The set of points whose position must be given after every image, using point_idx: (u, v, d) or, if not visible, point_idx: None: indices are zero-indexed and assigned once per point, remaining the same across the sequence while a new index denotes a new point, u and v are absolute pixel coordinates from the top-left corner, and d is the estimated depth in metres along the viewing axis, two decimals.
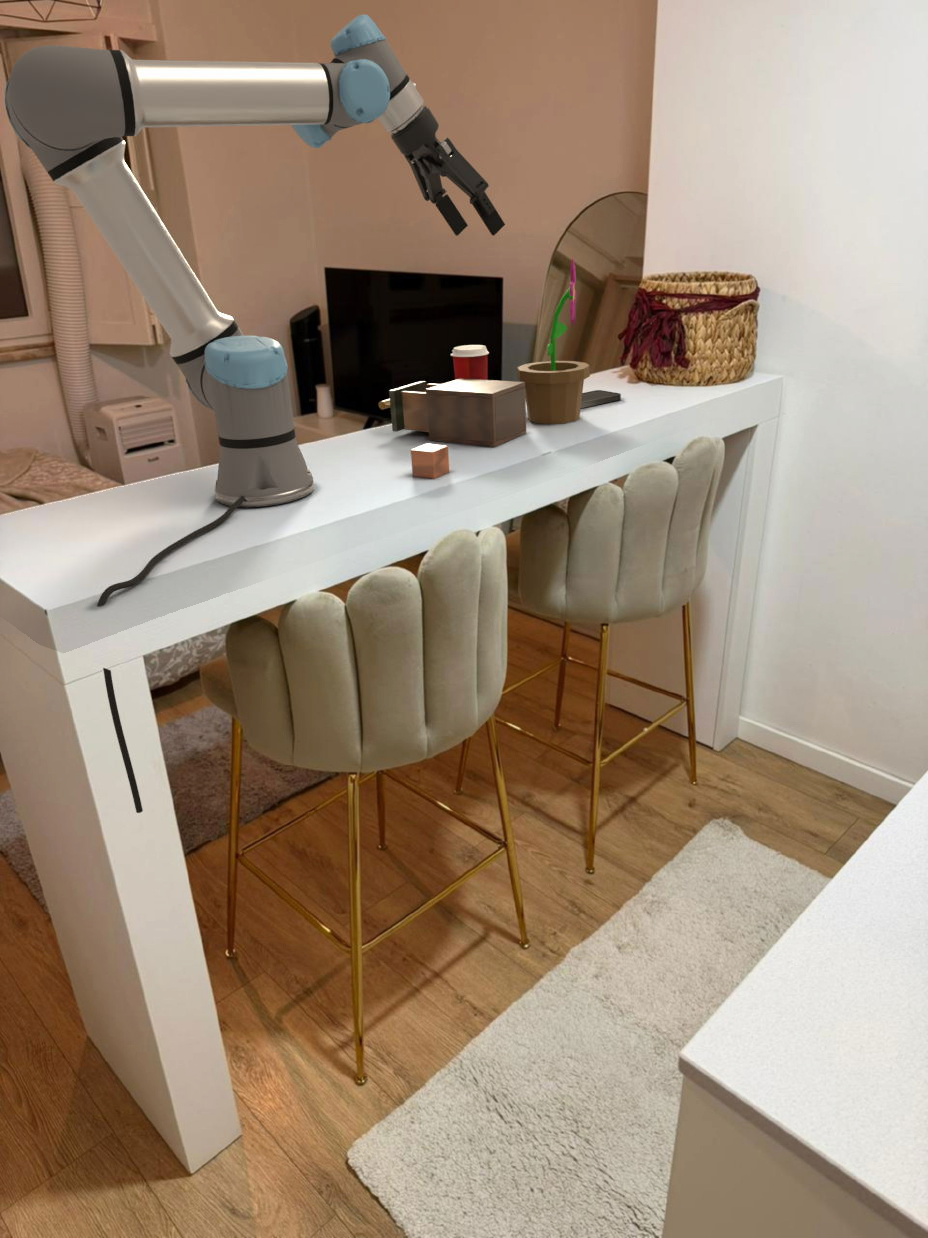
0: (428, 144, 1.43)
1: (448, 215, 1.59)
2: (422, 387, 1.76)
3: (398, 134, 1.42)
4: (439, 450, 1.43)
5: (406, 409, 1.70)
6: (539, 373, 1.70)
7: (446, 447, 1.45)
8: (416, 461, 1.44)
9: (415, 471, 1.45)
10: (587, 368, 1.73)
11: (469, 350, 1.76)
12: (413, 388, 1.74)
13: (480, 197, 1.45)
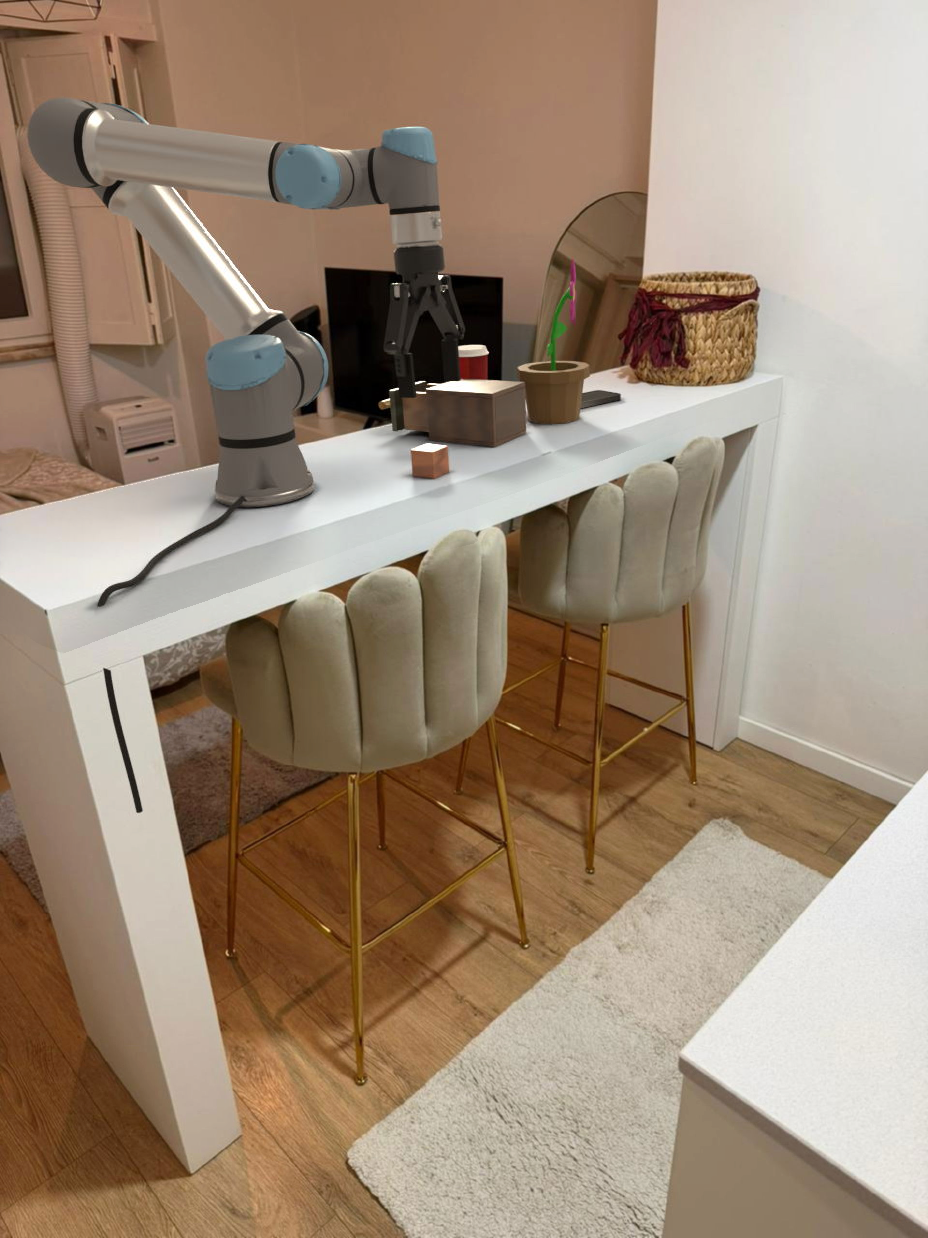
0: None
1: (445, 358, 1.45)
2: (422, 387, 1.76)
3: None
4: (439, 450, 1.43)
5: (406, 409, 1.70)
6: (539, 373, 1.70)
7: (446, 447, 1.45)
8: (416, 461, 1.44)
9: (415, 471, 1.45)
10: (587, 368, 1.73)
11: (469, 350, 1.76)
12: None
13: (395, 355, 1.32)
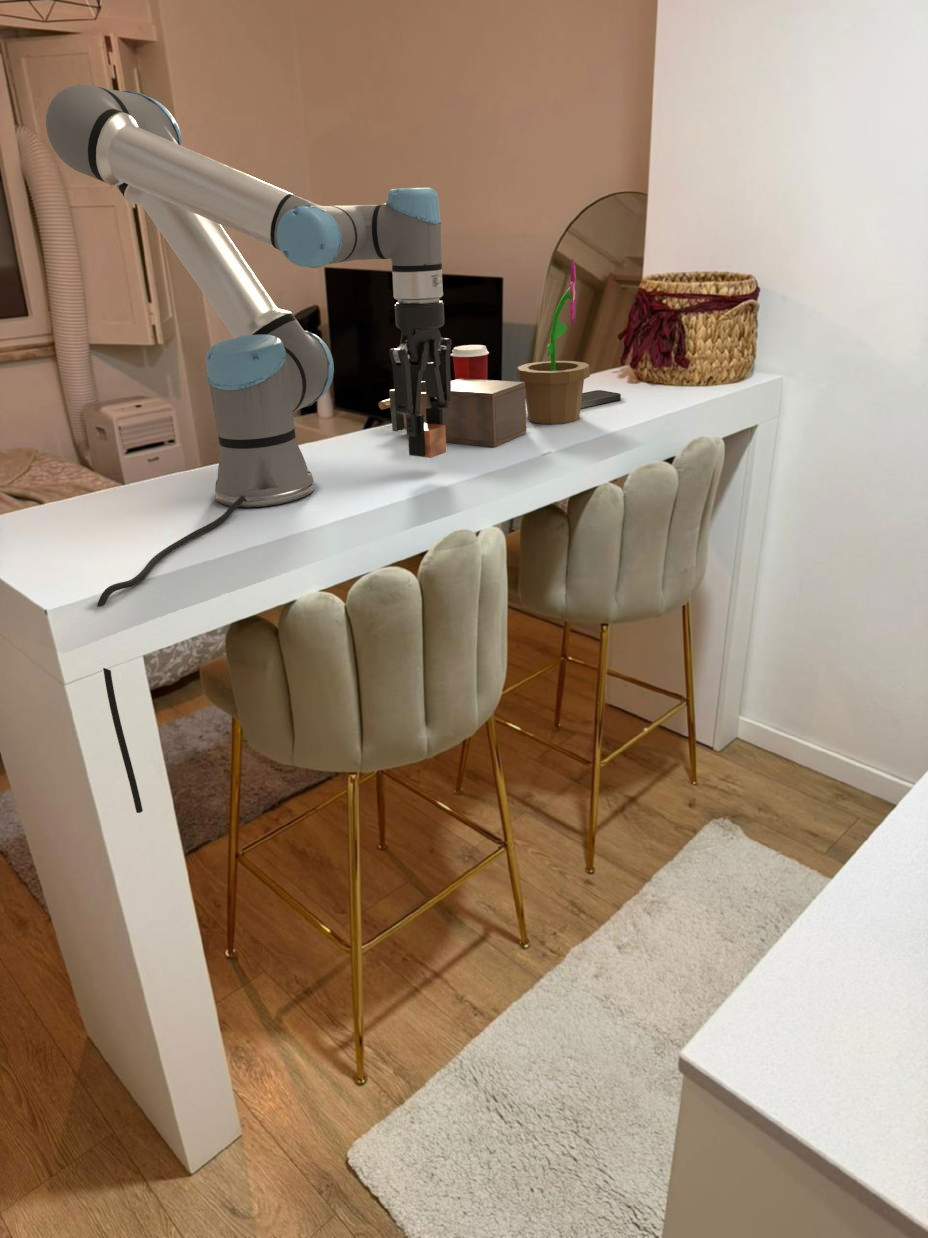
0: None
1: None
2: (422, 387, 1.76)
3: None
4: (436, 429, 1.42)
5: None
6: (539, 373, 1.70)
7: (443, 426, 1.43)
8: None
9: None
10: (587, 368, 1.73)
11: (469, 350, 1.76)
12: None
13: (406, 416, 1.39)
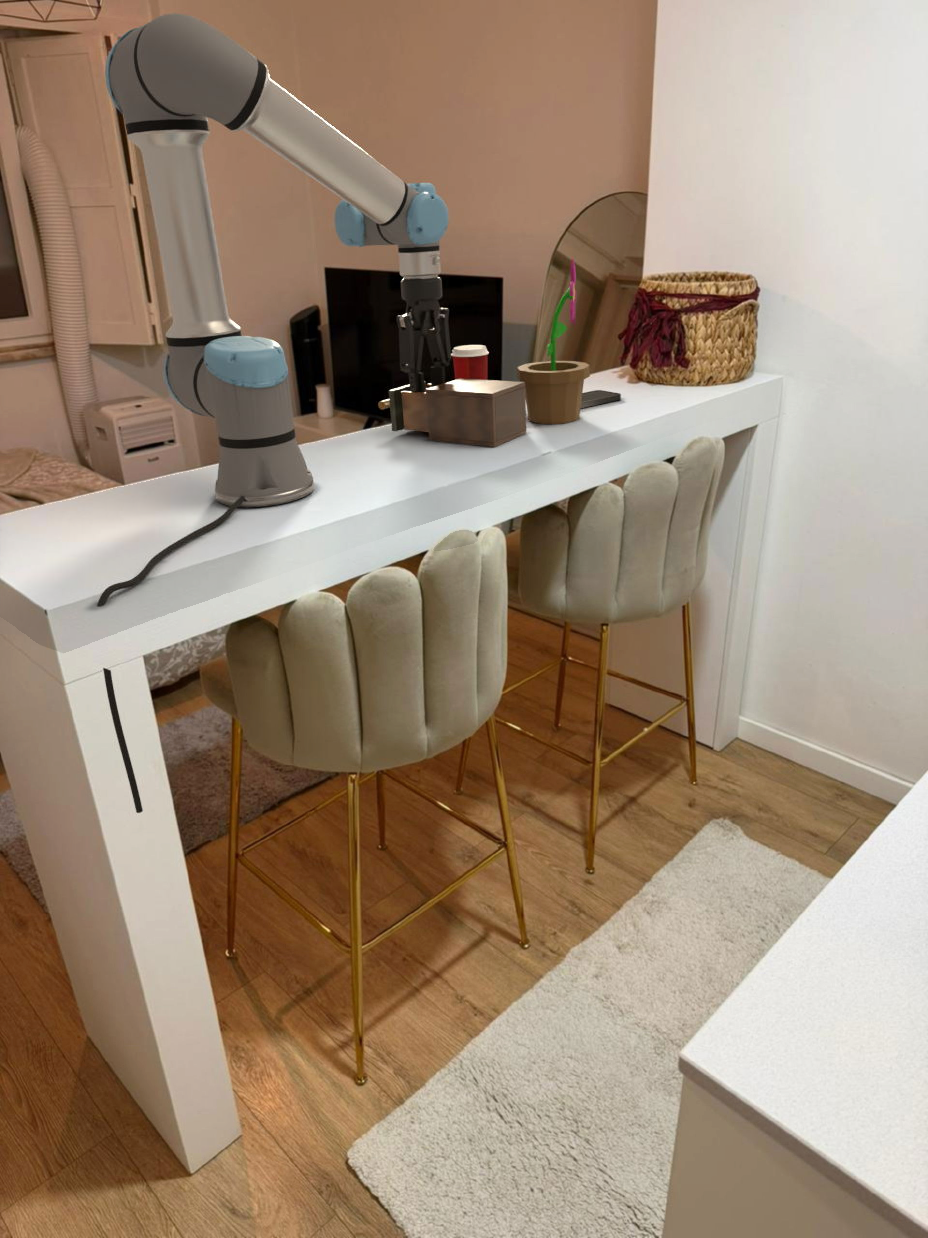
0: None
1: (433, 381, 1.73)
2: None
3: (402, 280, 1.63)
4: None
5: (406, 409, 1.70)
6: (539, 373, 1.70)
7: None
8: None
9: None
10: (587, 368, 1.73)
11: (469, 350, 1.76)
12: None
13: (409, 373, 1.66)
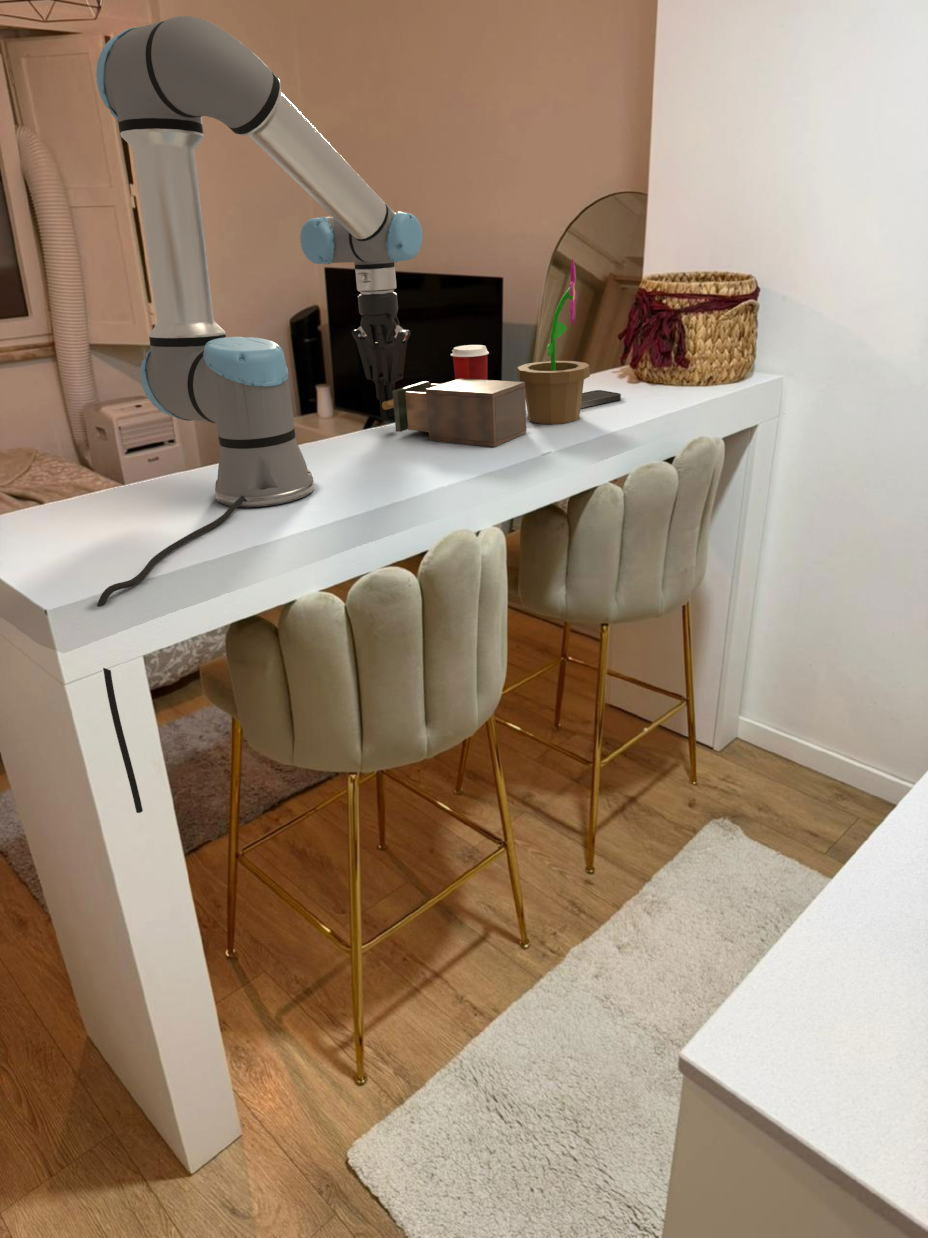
0: None
1: None
2: (426, 387, 1.76)
3: None
4: None
5: (410, 410, 1.69)
6: (539, 373, 1.70)
7: None
8: None
9: None
10: (587, 368, 1.73)
11: (469, 350, 1.76)
12: (416, 388, 1.73)
13: None
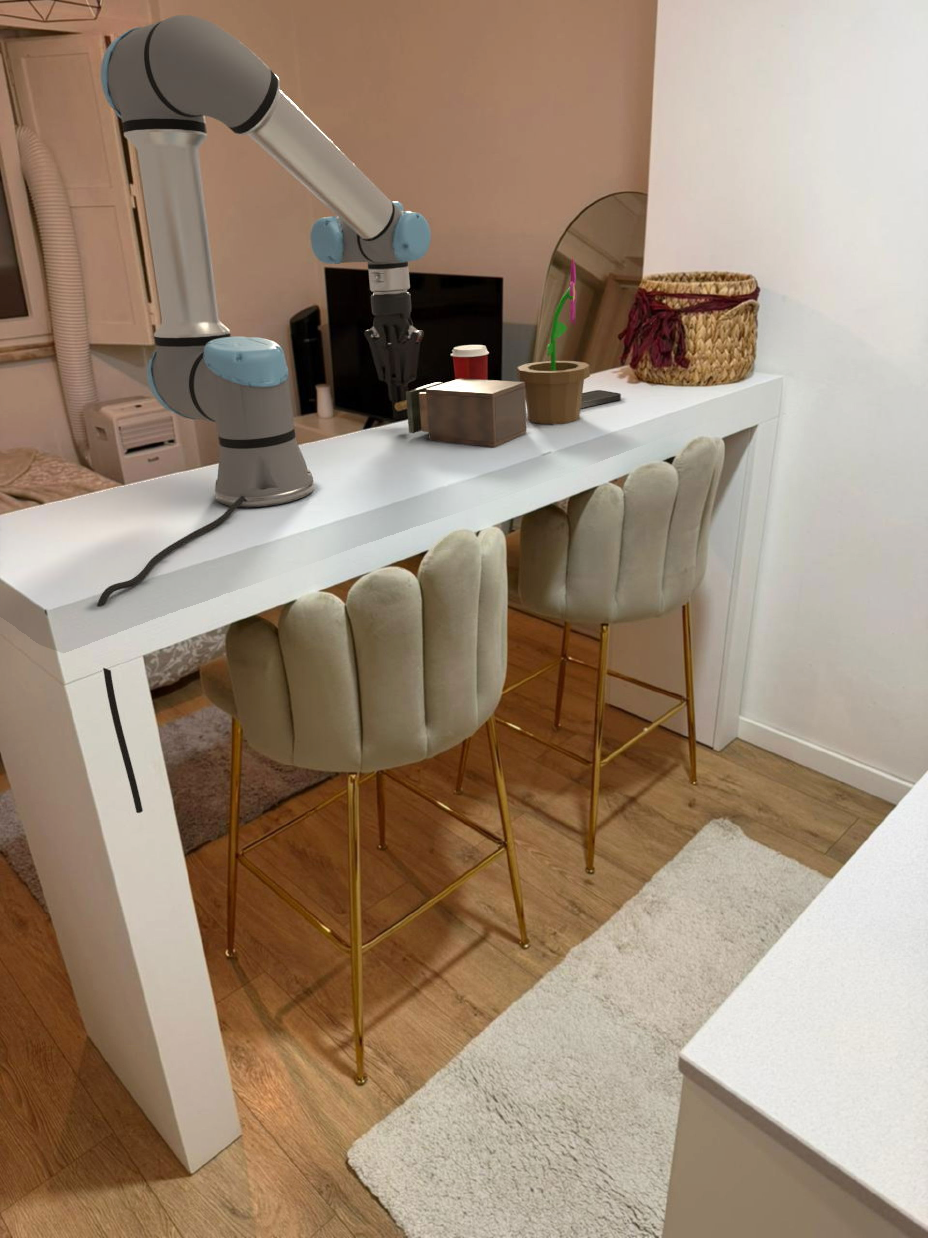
0: None
1: None
2: None
3: None
4: None
5: (423, 411, 1.68)
6: (539, 373, 1.70)
7: None
8: None
9: None
10: (587, 368, 1.73)
11: (469, 350, 1.76)
12: None
13: None
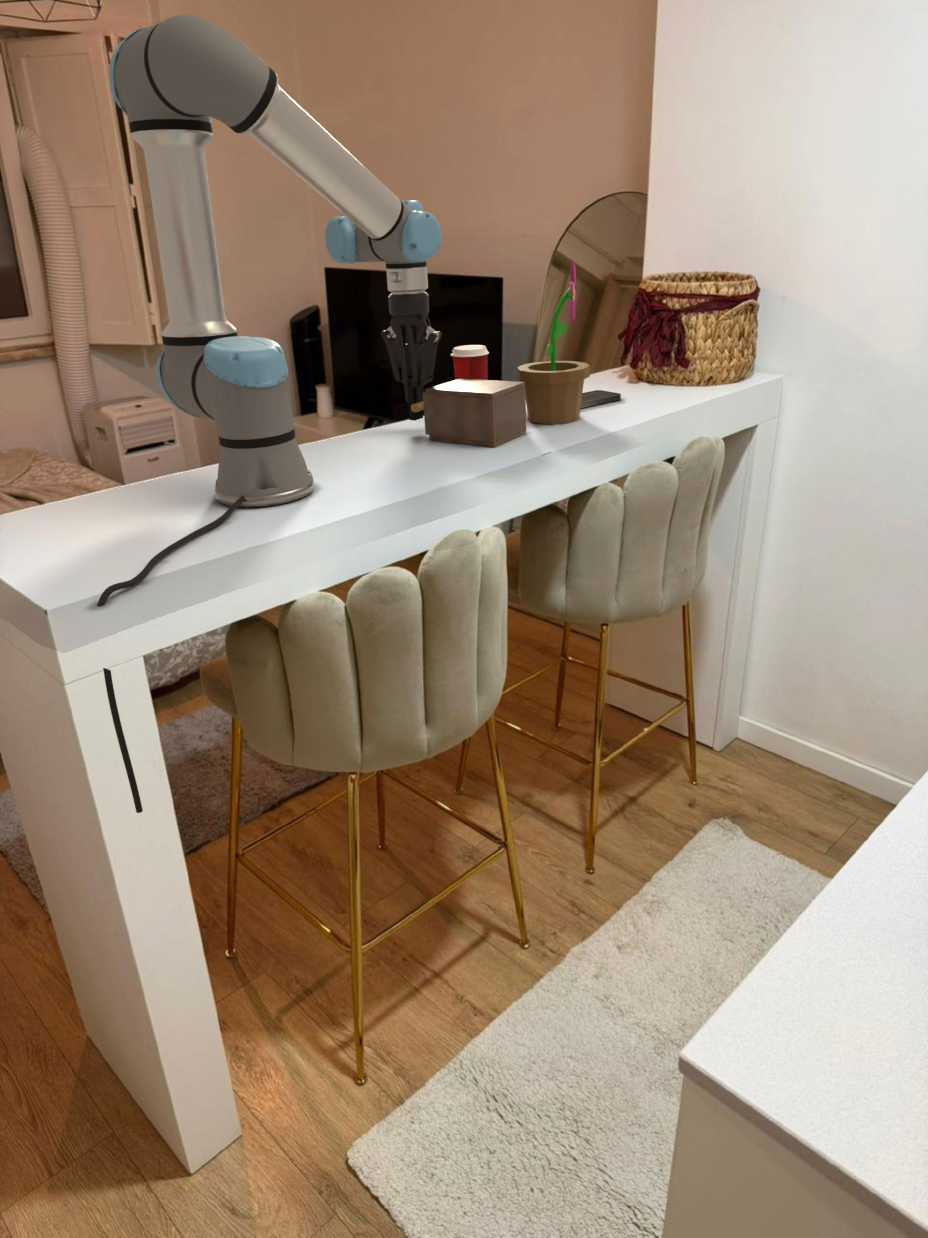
0: None
1: None
2: None
3: None
4: None
5: None
6: (539, 373, 1.70)
7: None
8: None
9: None
10: (587, 368, 1.73)
11: (469, 350, 1.76)
12: None
13: None
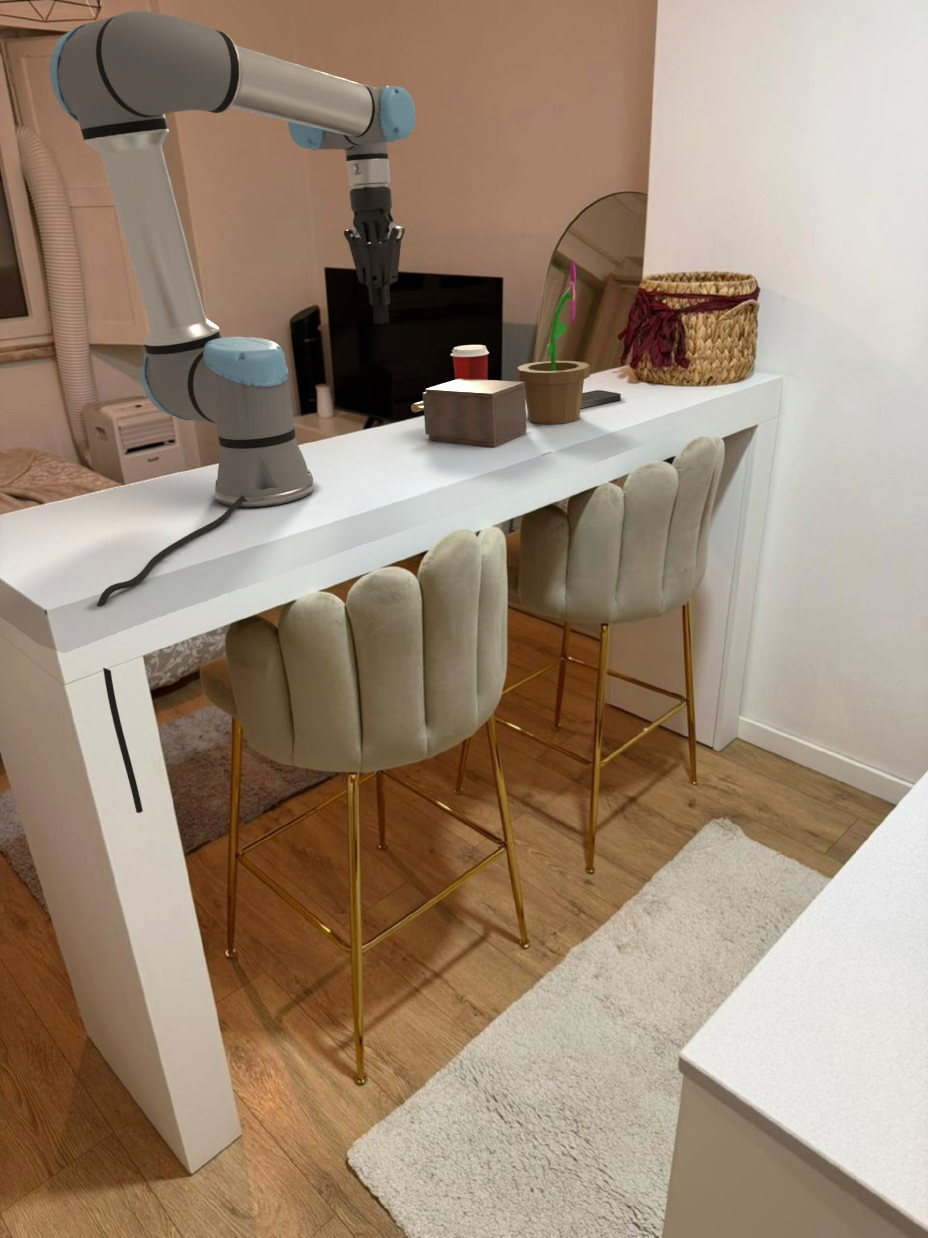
0: None
1: None
2: None
3: None
4: None
5: None
6: (539, 373, 1.70)
7: None
8: None
9: None
10: (587, 368, 1.73)
11: (469, 350, 1.76)
12: None
13: None
